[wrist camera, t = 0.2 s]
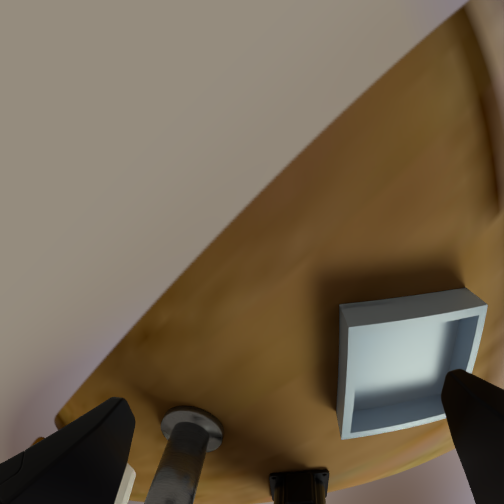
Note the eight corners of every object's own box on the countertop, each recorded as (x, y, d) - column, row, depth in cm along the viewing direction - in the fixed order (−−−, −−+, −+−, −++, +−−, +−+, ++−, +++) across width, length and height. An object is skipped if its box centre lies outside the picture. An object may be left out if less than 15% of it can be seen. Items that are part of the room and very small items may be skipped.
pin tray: (444, 391, 24) (457, 414, 21) (336, 412, 25) (341, 439, 22) (465, 287, 21) (487, 304, 18) (339, 304, 22) (348, 327, 19)
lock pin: (228, 447, 28) (208, 551, 16) (172, 443, 28) (138, 538, 16) (218, 406, 26) (188, 524, 14) (156, 403, 27) (108, 507, 15)
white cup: (149, 483, 31) (134, 523, 25) (109, 478, 32) (92, 513, 26) (124, 452, 30) (103, 494, 23) (83, 447, 31) (61, 484, 24)
